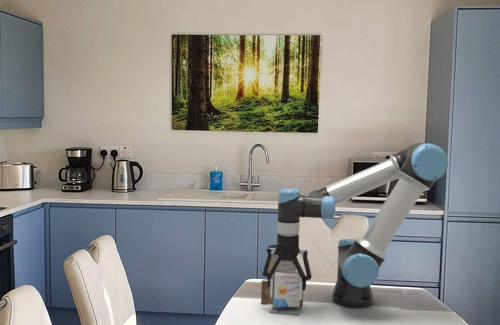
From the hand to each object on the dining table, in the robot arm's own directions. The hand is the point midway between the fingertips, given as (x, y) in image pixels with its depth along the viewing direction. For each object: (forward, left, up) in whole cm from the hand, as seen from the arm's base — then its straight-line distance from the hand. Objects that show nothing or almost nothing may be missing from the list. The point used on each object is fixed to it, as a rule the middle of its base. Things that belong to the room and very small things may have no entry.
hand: (286, 297), depth 188 cm
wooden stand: (+2, -6, -5) cm, 8 cm away
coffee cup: (+9, -32, -5) cm, 34 cm away
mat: (0, 0, -5) cm, 5 cm away
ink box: (0, 0, -3) cm, 3 cm away
